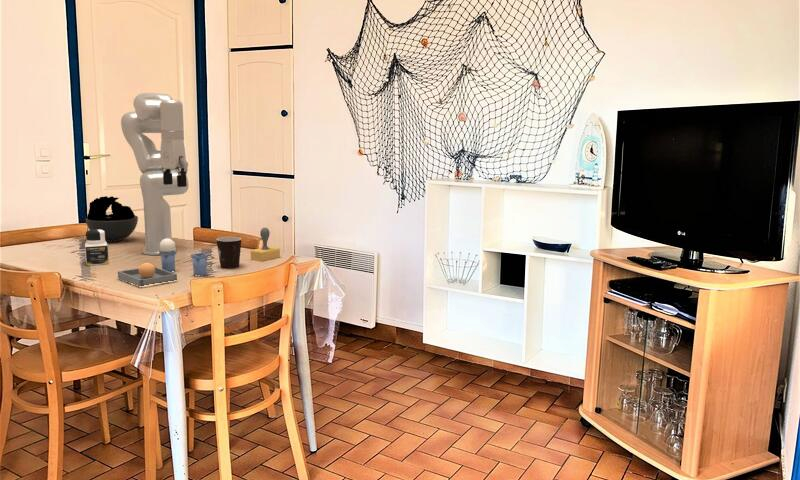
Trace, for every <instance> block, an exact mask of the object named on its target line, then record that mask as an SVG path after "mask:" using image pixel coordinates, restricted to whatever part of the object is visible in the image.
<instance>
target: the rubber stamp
mask: <svg viewBox="0 0 800 480" xmlns="http://www.w3.org/2000/svg"><path fill="white" fill-rule="evenodd" d="M259 233H260V238H261V240H262V243H263V246H262V247H261V248H255V249H251V250H250V260H252V261H256V262H260V263H261V262H265V261H269V260H274V259H278V258H280V257H281V254H280V253H281V252H280V251H281V250H280V248H279V247H274V246H268V241H269V238H270V233H271V232H270V230H269V227H268V228H267V227H262V228H261V229H260V232H259Z"/></svg>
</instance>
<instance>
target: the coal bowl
mask: <svg viewBox="0 0 800 480" xmlns="http://www.w3.org/2000/svg"><path fill="white" fill-rule="evenodd" d="M119 198H120V197H114V196H112V195H111V196H106V195H105V196H100V197H96V198H94V199H93V200H92V201H91V202H89V208H88V213H87V217H86V218H85V223H86V225H87V228H88V231H89V230H95V229H100V230H103V231H104V232H105V241H106V242H119V241H122V240H124V239H126V238H128V237H130V235H132V233H134V232H135V230H136V227H137V226H138V222H139V216H138V215H135V213H134V211H133V210H132V208H131V206H129V205H128V206H127V205H123V204H122V203H120V202H119V201H117V200H118V199H119ZM109 208H110V209H111V213H108V214H107V210H109Z"/></svg>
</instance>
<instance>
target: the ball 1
mask: <svg viewBox="0 0 800 480" xmlns="http://www.w3.org/2000/svg"><path fill="white" fill-rule="evenodd" d="M154 266H155V265H153V264H152V263H150V262H144V263H142V264H141V265H140V266H139V274H140V276H141V277H143V278H150V277H152V276H153V275H154V274H155V267H156V266H155V267H154Z"/></svg>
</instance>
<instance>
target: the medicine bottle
mask: <svg viewBox="0 0 800 480" xmlns="http://www.w3.org/2000/svg"><path fill="white" fill-rule="evenodd" d="M85 239H86V242H85V243H84V250H85V251H84V252H85V253H84V254H85V262H86V264H85V265H86V266H87V265H90V266H100V265H109V264H110V262H109V248H108V247H109V244H108V243H107V242H108V241H105V232H104V231H103V230H100V229H95V230H89V229H88V230H87V231H85Z"/></svg>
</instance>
